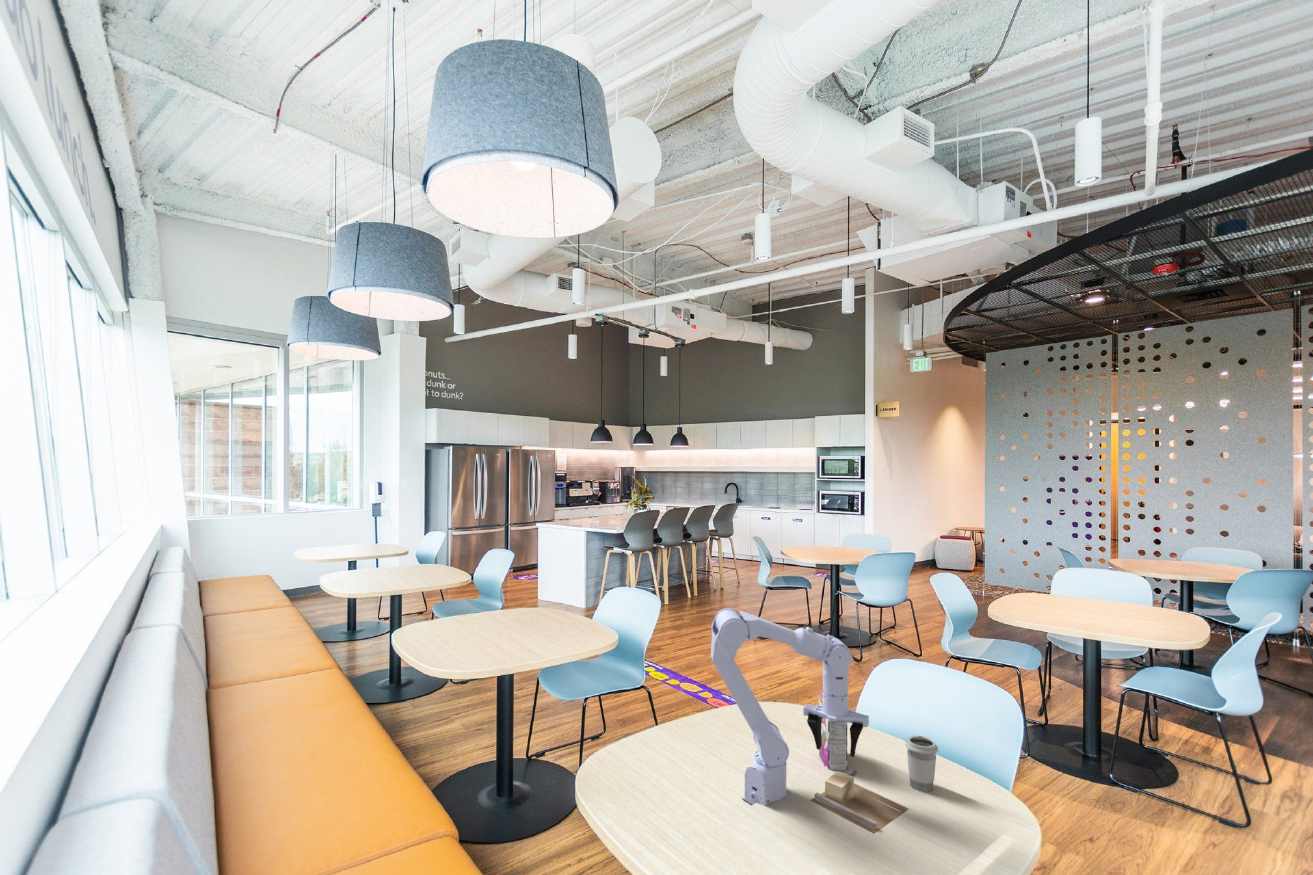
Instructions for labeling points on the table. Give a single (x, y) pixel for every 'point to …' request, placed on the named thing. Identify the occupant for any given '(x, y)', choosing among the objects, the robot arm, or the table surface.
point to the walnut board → (863, 808)
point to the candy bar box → (833, 742)
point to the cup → (921, 762)
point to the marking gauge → (840, 787)
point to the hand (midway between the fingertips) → (835, 751)
